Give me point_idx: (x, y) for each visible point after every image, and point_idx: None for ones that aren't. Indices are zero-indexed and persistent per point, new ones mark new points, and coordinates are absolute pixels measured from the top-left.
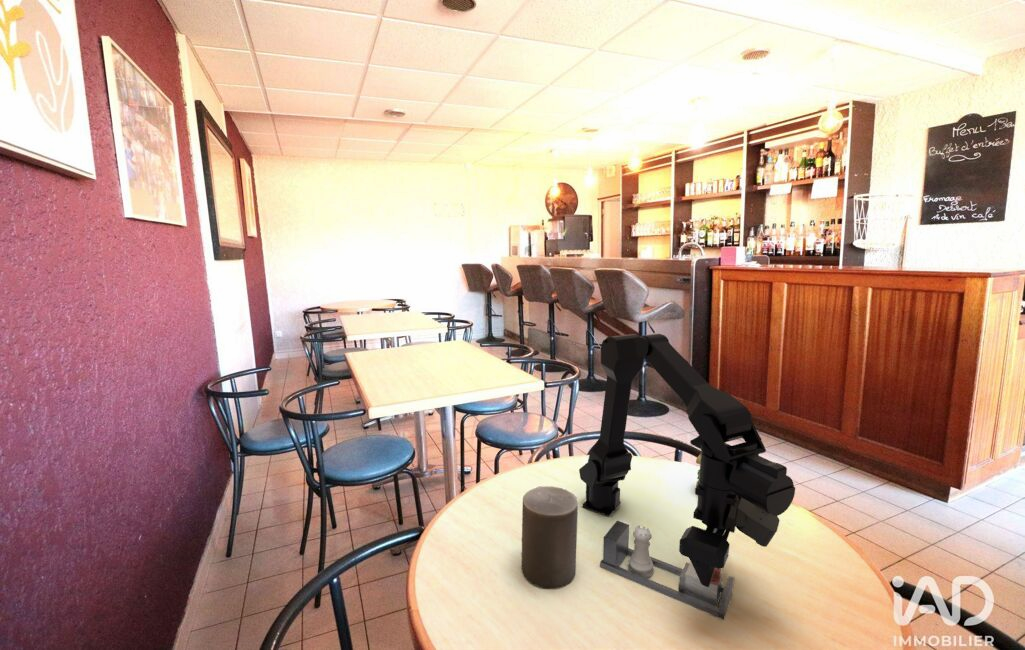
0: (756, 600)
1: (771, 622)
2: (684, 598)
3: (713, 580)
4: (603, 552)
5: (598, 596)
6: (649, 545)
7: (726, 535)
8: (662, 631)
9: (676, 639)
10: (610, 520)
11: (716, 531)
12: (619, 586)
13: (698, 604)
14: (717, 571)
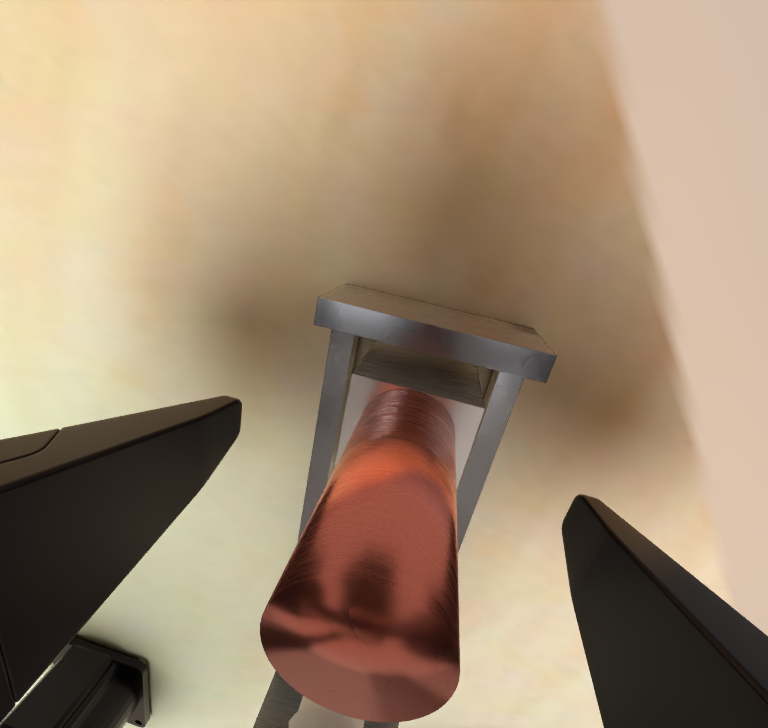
0: (343, 171)
1: (477, 97)
2: (481, 484)
3: (454, 434)
4: None
5: (539, 700)
6: (333, 716)
7: (62, 481)
8: (662, 545)
9: (697, 504)
10: (160, 656)
11: (65, 570)
12: (469, 650)
13: (501, 436)
14: (446, 453)
